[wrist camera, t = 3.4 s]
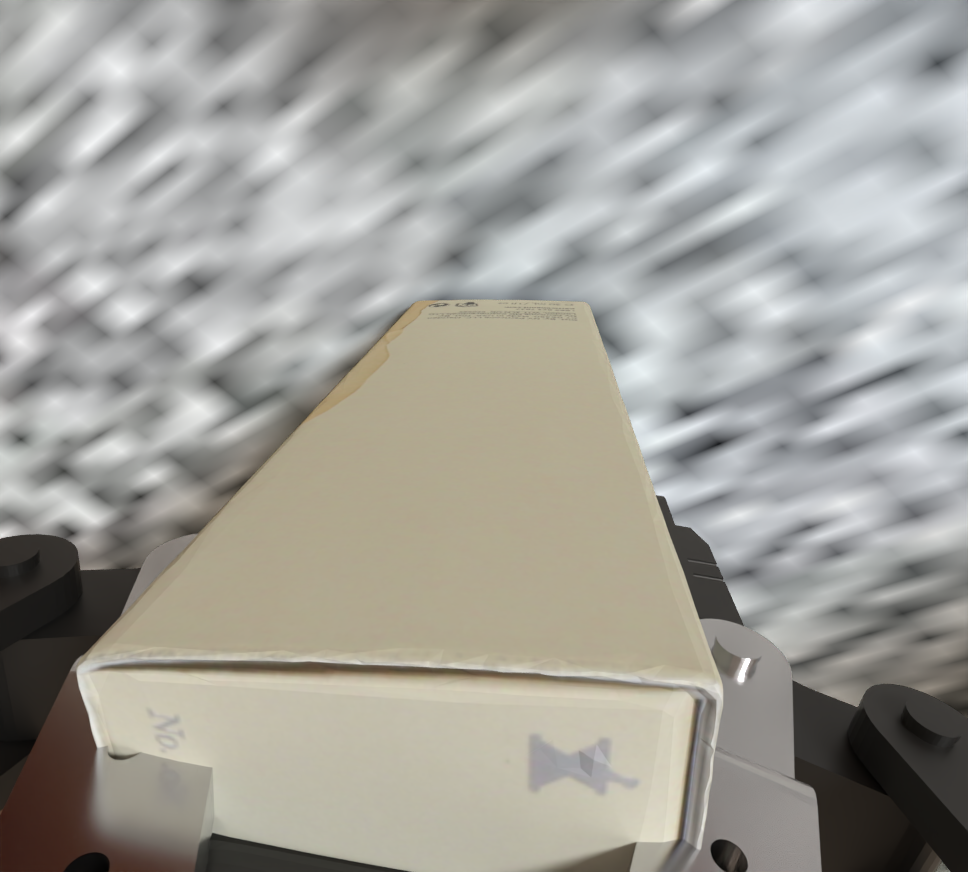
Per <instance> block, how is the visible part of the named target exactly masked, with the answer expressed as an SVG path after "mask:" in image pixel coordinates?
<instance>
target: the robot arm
mask: <svg viewBox="0 0 968 872" xmlns="http://www.w3.org/2000/svg"><path fill="white" fill-rule="evenodd" d="M656 497H657V500H658V503H659V506H660V509H661V511H662V514H663V517H664V520H665V523H666V526H667V529H668V531H669V534H670V537H671V540H672V543H673V545H674V548H675V551H676V553H677V556H678V559H679V561H680V564H681V567H682V569H683V572H684V575H685V578H686V581H687V584H688V587H689V590H690V593H691V596H692V599H693V602H694V605H695V608H696V611H697V614H698V617H699V619H700V622H701V625H702V628H703V631H704V634H705V637H706V640H707V643H708V646H709V648H710V651H711V654H712V656H713V659H714V662H715V664H716V667H717V670H718V672H719V675H720V678H721V681H722V685H723V709H722V714H721V719H720V724H719V730H718V736H717V742H716V748H715V753H714V761H713V774H712V782H711V787H710V791H709V799H708V808H707V816H706V822H705V828H704V834H703V840H702V846H701V850H699V849H697V848H695V847H694V846H692V845H691V844H690V843H688V842H687V841H686V840H684V839H676V840H672V841H668V842H663V843H662V842H637V843H636V846H635V848H634V851H633V854H632V857H631V860H630V863H629V866H628V869H627V872H935V871H936V870H937V868H938V867H939V865H940V863H941V862H943V863H944V864H945V865H946V867H947V868H948V869H949V870H950V871H951V872H968V719H967V718H966V717H965V716H963V715H962V714H961V713H959V712H958V711H957V710H955V709H953V708H952V707H950V706H949V705H947V704H945V703H944V702H942V701H940V700H938V699H936V698H934V697H932V696H930V695H928V694H926V693H923V692H920V691H918V690H915V689H912V688H908V687H905V686H900V685H894V684H879V685H875V686H872V687H870V688H869V689H868V690H867V691H866V692H865V694H864V696H863V698H862V700H861V702H860V704H859V706H858V707H855V706H853V705H850V704H847V703H845V702H842V701H840V700H837V699H835V698H832V697H829V696H827V695H824V694H822V693H819V692H817V691H814V690H812V689H809V688H807V687H805V686H802V685H801V684H799V683H797V682H795V681H793V680H792V670H791V667H790V665H789V662H788V661H787V659H786V657H785V656H784V655H783V653H782V652H781V651H780V650H779V649H778V648H777V647H776V646H775V645H774V644H773V643H771V642H770V641H769V640H767V639H766V638H765V637H763V636H762V635H760V634H758V633H757V632H755V631H753V630H751V629H749V628H747V627H744V625H743V622H742V620H741V618H740V616H739V613H738V611H737V609H736V606H735V604H734V602H733V600H732V597H731V595H730V593H729V591H728V588H727V586H726V584H725V582H723V577H722V575H721V572H720V570H719V568H718V567H716V564H717V563H716V561H715V559H714V556H713V554H712V552H711V549H710V547H709V545H708V544H707V543H706V542H705V541H704V540H703V539H701V538H700V537H699V536H698V535H697V534H696V533H695V532H694V531H693V530H692V529H691V528H688V527H682V526H677V525H675V524H674V521H673V518H672V515H671V513H670V510H669V507H668V505H667V502H666V499H665V497H663V496H657V495H656ZM197 535H198V534H191V535H186V536H182V537H179V538H176V539H173V540H170V541H168V542H166V543H164V544H162V545H160V546H158V547H157V548H156V549H154V550H153V551H152V552H151V553H150V554H149V555H148V556H147V558H146V559H145V561H144V563H143V565H142V568H136V569H112V570H80V564H79V556H78V550H77V548H76V547H75V545H73V544H72V543H71V542H69V541H67V540H66V539H63V538H60V537H56V536H51V535H40V534H36V535H19V536H12V537H6V538H2V539H0V811H1V810H2V812H1V814H0V872H410V871H404V870H399V869H393V868H387V867H382V866H376V865H370V864H365V863H359V862H354V861H349V860H343V859H338V858H332V857H327V856H322V855H316V854H311V853H306V852H301V851H296V850H291V849H287V848H282V847H277V846H272V845H267V844H262V843H257V842H252V841H247V840H242V839H237V838H233V837H228V836H224V835H220V834H216V833H212V828H213V822H214V816H215V815H214V791H213V768H212V767H206V766H201V765H196V764H190V763H185V762H179V761H175V760H171V759H167V758H162V757H158V756H154V755H150V754H146V753H142V752H140V753H139V754H137V755H136V756H134V757H132V758H129V759H126V760H115V759H112V758H111V757H110V756H109V748H108V746H104V747H100V748H98V747H97V745H96V743H95V740H94V737H93V734H92V730H91V725H90V720H89V716H88V713H87V710H86V707H85V704H84V701H83V698H82V695H81V693H80V690H79V685H78V679H77V673H76V666H77V664H78V663H79V661H80V659H81V657H82V656H83V655H84V654H85V653H86V652H87V651H88V650H89V649H90V648H91V647H92V646H93V645H94V644H95V643H96V642H97V641H98V639H99V638H100V637H101V636H102V635H103V634H104V633H105V632H106V631H107V630H108V629H109V628H110V627H111V626H112V625H113V624H114V623H115V622H116V621H117V620H118V619H119V618H120V617H121V616H122V614H123V613H124V612H125V611H126V610H127V609H128V608H129V607H130V606H131V605H132V604H133V603H134V602H135V601H136V600H137V599H138V597H139V596H140V595H141V594H142V593H143V592H144V591H145V590H146V589H147V588H148V587H149V585H150V584H151V583H152V582H153V581H154V580H155V579H156V578H157V577H158V576H159V574H160V573H161V572H162V571H163V570H164V569H165V568H166V567H167V566H168V565H169V564H170V563H171V562H172V561H173V560H174V559H175V558H176V557H177V556H178V555H179V554H180V553H181V552H182V551H183V550H184V549H185V548H186V547H187V546H188V544H189V543H190V542H191V541H192V540H193V539H194V538H195V537H196V536H197Z"/></svg>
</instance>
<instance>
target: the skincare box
mask: <svg viewBox="0 0 968 872" xmlns="http://www.w3.org/2000/svg"><path fill="white" fill-rule="evenodd" d="M76 673H77V679H78V685H79V690H80V693H81V695H82V698H83V701H84V704H85V707H86V710H87V713H88V716H89V720H90V725H91V730H92V734H93V737H94V740H95V743H96V745H97V747H98V748H100V747H104V746H108V748H109V756H110V757H111V758H112V759H115V760H126V759H129V758H132V757H134V756H136V755H137V754H139V753H140V752H142V753H146V754H150V755H154V756H158V757H162V758H167V759H171V760H175V761H179V762H185V763H190V764H196V765H201V766H206V767H212V768H213V791H214V815H215V816H214V822H213V828H212V833H216V834H220V835H224V836H228V837H233V838H237V839H242V840H247V841H252V842H257V843H262V844H267V845H272V846H277V847H282V848H287V849H291V850H296V851H301V852H306V853H311V854H316V855H322V856H327V857H332V858H338V859H343V860H349V861H354V862H359V863H365V864H370V865H376V866H382V867H387V868H393V869H399V870H404V871H410V872H627V869H628V866H629V863H630V860H631V857H632V854H633V851H634V848H635V846H636V843H637V842H662V843H663V842H668V841H672V840H676V839H684V840H686V841H687V842H688V843H690V844H691V845H692V846H694V847H695V848H697V849H699V850H701V846H702V840H703V834H704V828H705V822H706V816H707V808H708V799H709V791H710V787H711V782H712V774H713V761H714V753H715V748H716V742H717V736H718V730H719V724H720V719H721V714H722V709H723V685H722V681H721V678H720V675H719V672H718V670H717V667H716V664H715V662H714V659H713V656H712V654H711V651H710V648H709V646H708V643H707V640H706V637H705V634H704V631H703V628H702V625H701V622H700V619H699V617H698V614H697V611H696V608H695V605H694V602H693V599H692V596H691V593H690V590H689V587H688V584H687V581H686V578H685V575H684V572H683V569H682V567H681V564H680V561H679V559H678V556H677V553H676V551H675V548H674V545H673V543H672V540H671V537H670V534H669V531H668V529H667V526H666V523H665V520H664V517H663V514H662V511H661V509H660V506H659V503H658V500H657V497H656V495H655V492H654V488H653V485H652V482H651V479H650V476H649V474H648V471H647V468H646V466H645V463H644V460H643V457H642V453H641V450H640V447H639V444H638V442H637V439H636V436H635V434H634V431H633V428H632V425H631V422H630V419H629V416H628V413H627V411H626V408H625V405H624V402H623V400H622V398H621V395H620V391H619V388H618V385H617V382H616V379H615V376H614V373H613V371H612V368H611V364H610V362H609V359H608V356H607V353H606V351H605V348H604V346H603V343H602V340H601V337H600V334H599V331H598V328H597V325H596V323H595V319H594V317H593V314H592V311H591V308H590V306H589V304H587V303H586V302H572V301H539V300H437V301H417V302H415V303H413V304H412V305H411V307H410V308H409V309H408V310H407V311H406V312H405V313H404V314H403V315H402V317H401V318H400V319H399V320H398V321H397V322H396V323H395V324H394V325H393V326H392V327H391V328H390V329H389V330H388V331H387V333H385V334H384V335H383V336H382V338H381V339H380V340H379V341H378V342H377V343H376V344H375V345H374V346H373V347H372V348H371V349H370V350H369V352H368V353H367V354H366V355H365V356H364V357H363V358H362V359H361V360H360V361H359V362H358V363H357V364H356V365H355V366H354V367H353V368H352V369H351V370H350V371H349V372H348V374H347V375H346V376H345V377H344V378H343V379H342V380H341V381H340V382H339V383H338V384H337V385H336V387H335V388H334V389H333V390H332V391H331V392H330V393H329V394H328V395H327V396H326V397H325V398H324V400H323V401H322V402H321V403H320V404H319V405H318V406H317V407H316V408H315V409H314V410H313V411H312V412H311V413H310V414H309V416H308V417H307V418H306V419H305V420H304V421H303V422H302V423H301V424H300V425H299V426H298V428H297V429H296V430H295V431H294V432H293V433H292V434H291V435H290V436H289V437H288V438H287V439H286V440H285V442H284V443H283V444H282V445H281V446H280V447H279V448H278V449H277V450H276V451H275V452H274V453H273V454H272V455H271V457H270V458H269V459H268V460H267V461H266V462H265V463H264V464H263V465H262V466H261V467H260V468H259V469H258V470H257V471H256V472H255V473H254V474H253V476H252V477H251V478H250V479H249V480H248V481H247V482H246V483H245V484H244V485H243V486H242V487H241V488H240V490H239V491H238V492H237V493H236V494H235V495H234V496H233V497H232V498H231V499H230V500H229V501H228V502H227V504H226V505H225V506H224V507H223V508H222V509H221V510H220V511H219V512H218V513H217V514H216V515H215V516H214V517H213V518H212V519H211V521H210V522H209V523H208V524H207V525H206V526H205V527H204V528H203V529H202V530H201V531H200V532H199V534H198V535H197V536H196V537H195V538H194V539H193V540H192V541H191V542H190V543H189V544H188V546H187V547H186V548H185V549H184V550H183V551H182V552H181V553H180V554H179V555H178V556H177V557H176V558H175V559H174V560H173V561H172V562H171V563H170V564H169V565H168V566H167V567H166V568H165V569H164V570H163V571H162V572H161V573H160V574H159V576H158V577H157V578H156V579H155V580H154V581H153V582H152V583H151V584H150V585H149V587H148V588H147V589H146V590H145V591H144V592H143V593H142V594H141V595H140V596H139V597H138V599H137V600H136V601H135V602H134V603H133V604H132V605H131V606H130V607H129V608H128V609H127V610H126V611H125V612H124V613H123V614H122V616H121V617H120V618H119V619H118V620H117V621H116V622H115V623H114V624H113V625H112V626H111V627H110V628H109V629H108V630H107V631H106V632H105V633H104V634H103V635H102V636H101V637H100V638H99V639H98V641H97V642H96V643H95V644H94V645H93V646H92V647H91V648H90V649H89V650H88V651H87V652H86V653H85V654H84V655H83V656H82V657H81V659H80V661H79V663H78V664H77V666H76Z"/></svg>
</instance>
